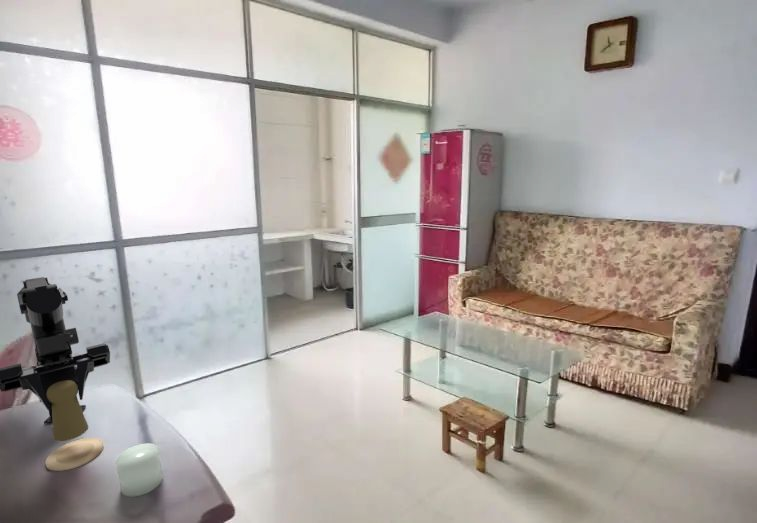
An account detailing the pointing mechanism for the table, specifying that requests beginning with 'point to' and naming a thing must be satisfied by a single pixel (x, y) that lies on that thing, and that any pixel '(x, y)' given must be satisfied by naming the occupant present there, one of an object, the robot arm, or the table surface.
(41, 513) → the table surface
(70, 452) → the trivet
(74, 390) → the pepper shaker
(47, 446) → the table surface
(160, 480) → the pale mint rounded cylinder
